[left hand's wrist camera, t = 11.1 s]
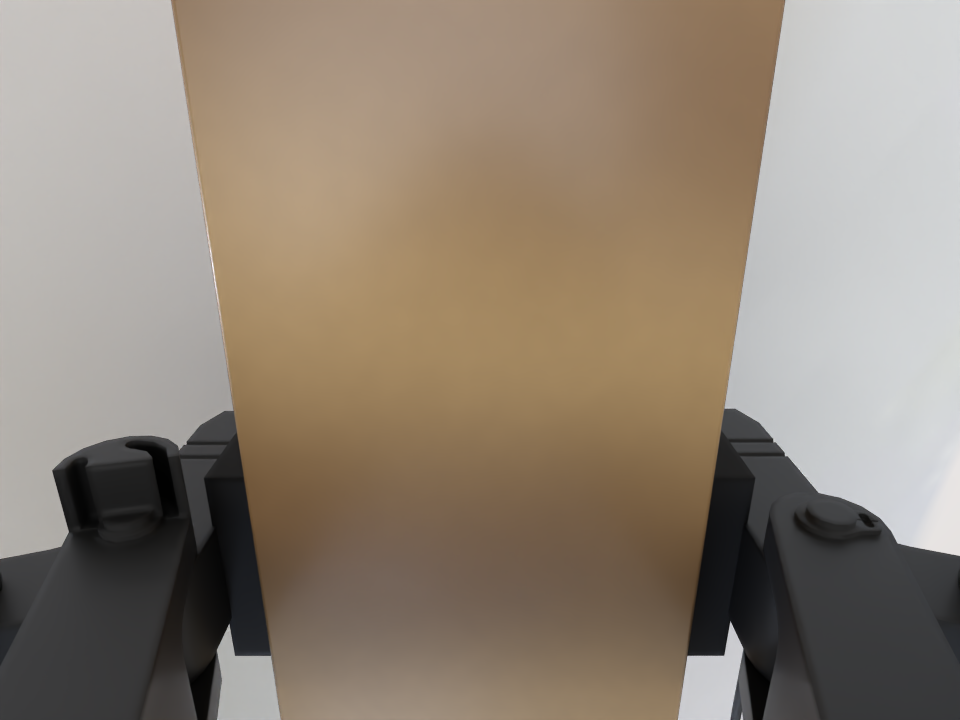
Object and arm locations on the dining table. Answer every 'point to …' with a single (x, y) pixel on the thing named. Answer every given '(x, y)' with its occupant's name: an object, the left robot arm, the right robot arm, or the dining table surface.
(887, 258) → the dining table surface
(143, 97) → the dining table surface
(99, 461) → the left robot arm
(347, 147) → the beam
